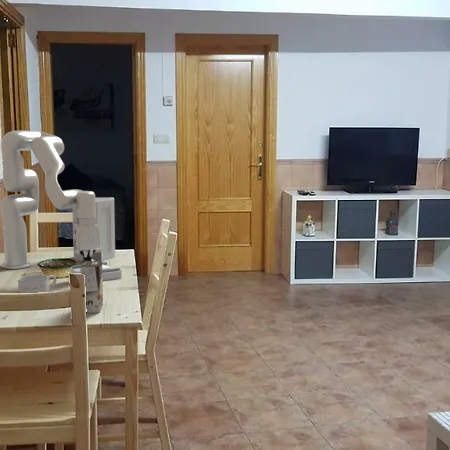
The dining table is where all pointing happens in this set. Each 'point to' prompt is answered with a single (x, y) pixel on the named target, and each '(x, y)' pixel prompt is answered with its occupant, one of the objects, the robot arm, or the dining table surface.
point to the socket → (106, 274)
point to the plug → (97, 255)
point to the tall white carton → (102, 227)
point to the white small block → (103, 266)
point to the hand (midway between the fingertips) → (87, 265)
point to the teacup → (35, 283)
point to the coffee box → (93, 285)
